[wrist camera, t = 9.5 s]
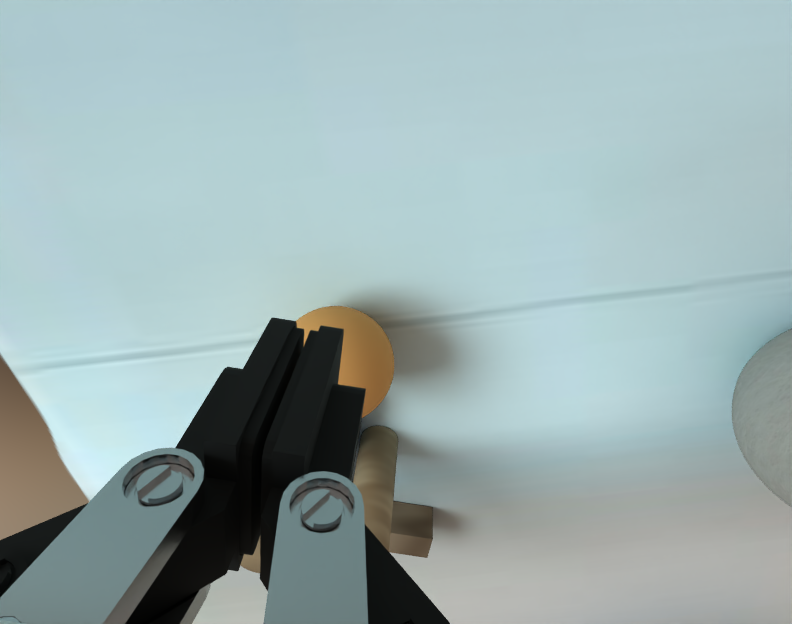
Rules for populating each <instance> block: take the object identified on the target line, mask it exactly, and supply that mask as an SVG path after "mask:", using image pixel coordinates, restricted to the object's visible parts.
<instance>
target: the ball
mask: <svg viewBox="0 0 792 624" xmlns="http://www.w3.org/2000/svg"><path fill="white" fill-rule="evenodd" d="M732 422H733V428H734V433H735V436H736V440H737V442H738V445H739V448H740V450H741V452H742V454H743V456H744V458H745V459H746V461H747V463H748V464H749V466H750V467H751V469H752V470H753V472H754V473H755V474H756V475H757V477H758V478H759V479H760V480H761V481H762V482H763V483H764V484H765V486H766V487H767V488H768V489H769V490H771V491H772V492H773V493H774V494H775V495H776V496H777V497H779V498H780V499H781V500H782V501H784V502H785V503H786V504H788V505H789V506H791V507H792V329H790V330H788V331H786V332H784V333H782V334H780V335H778V336H777V337H775V338H774V339H772V340H771V341H769V342H768V343H767V344H765V345H764V346H763V347H762V348H761V349H759V350H758V351H757V352H756V353H755V354H754V355H753V356H752V358H751V359H750V360H749V361H748V362H747V364H746V365H745V367H744V368H743V370H742V372H741V374H740V376H739V378H738V380H737V383H736V386H735V390H734V394H733V401H732Z"/></svg>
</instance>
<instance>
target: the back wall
mask: <svg viewBox="0 0 792 624" xmlns="http://www.w3.org/2000/svg"><path fill="white" fill-rule="evenodd" d="M432 539H433V507H427V506H421V505H414V504H408V503H401V502H395V501H393V509H392V522H391V534H390V546H389V552H392V553H398V554H405V555H412V556H418V557H425V558H427V557H428V553H429V550H430V546H431V543H432Z"/></svg>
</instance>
